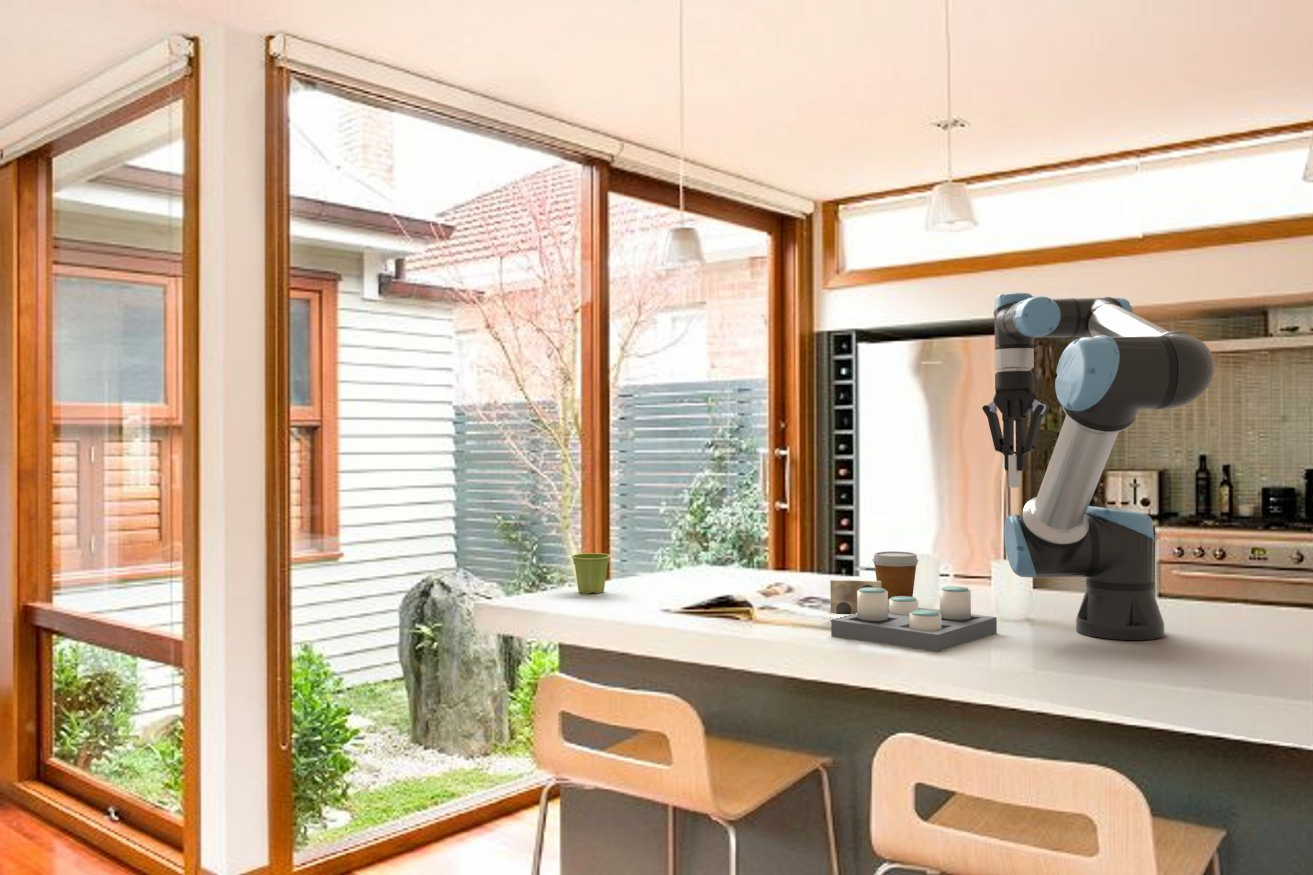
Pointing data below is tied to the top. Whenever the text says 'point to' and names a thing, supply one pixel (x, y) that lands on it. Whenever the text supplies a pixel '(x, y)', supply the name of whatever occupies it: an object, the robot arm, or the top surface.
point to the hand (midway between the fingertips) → (1014, 487)
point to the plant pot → (591, 571)
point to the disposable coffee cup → (896, 572)
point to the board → (914, 631)
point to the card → (847, 594)
